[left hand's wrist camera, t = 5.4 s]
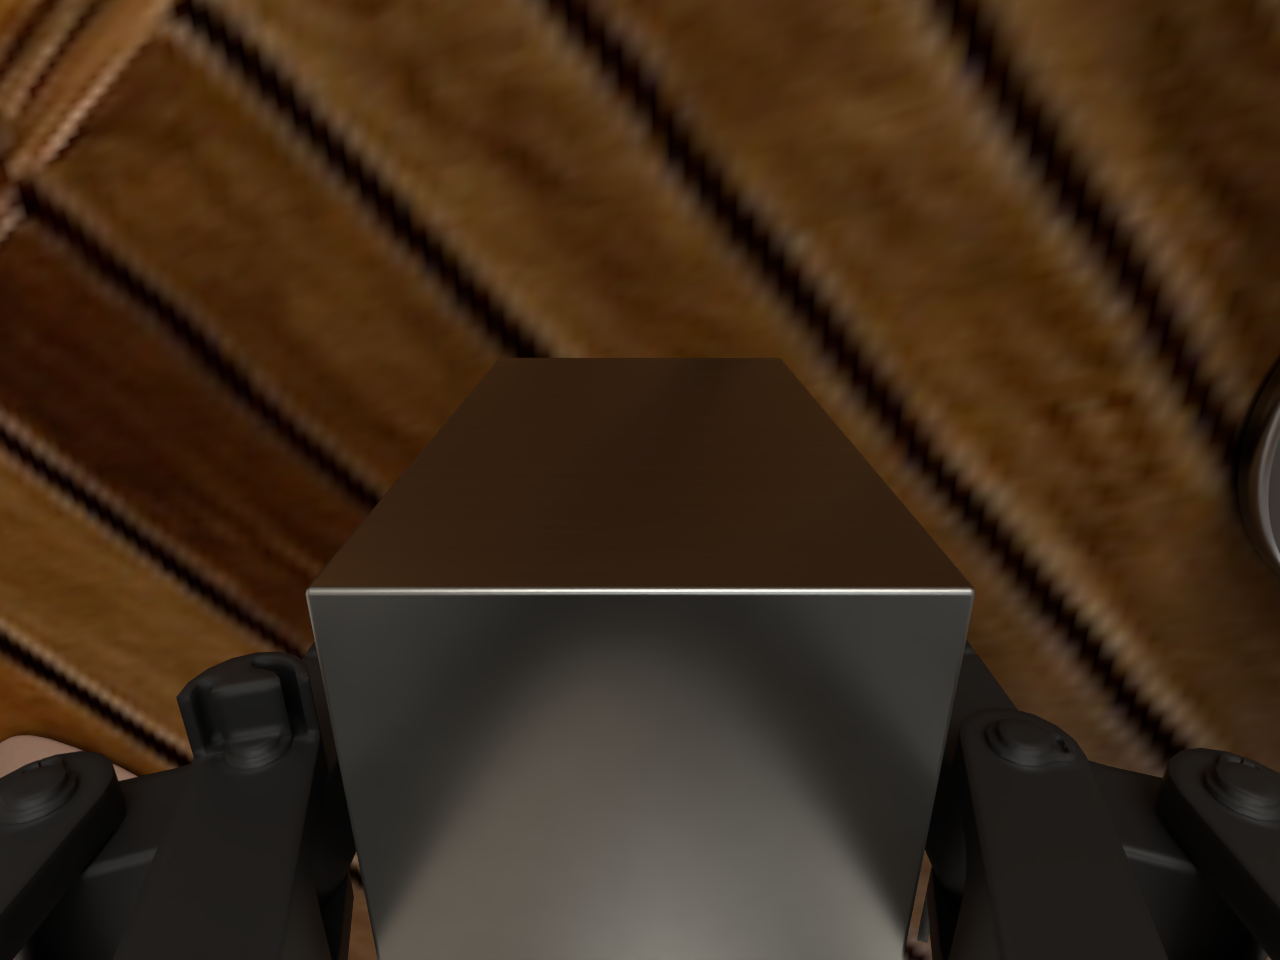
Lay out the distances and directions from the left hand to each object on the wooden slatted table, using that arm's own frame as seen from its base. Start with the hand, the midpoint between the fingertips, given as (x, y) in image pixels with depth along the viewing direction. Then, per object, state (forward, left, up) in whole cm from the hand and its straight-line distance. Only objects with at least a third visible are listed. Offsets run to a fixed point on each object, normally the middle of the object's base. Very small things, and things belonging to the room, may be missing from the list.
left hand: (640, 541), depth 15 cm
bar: (-6, +6, 0) cm, 9 cm away
